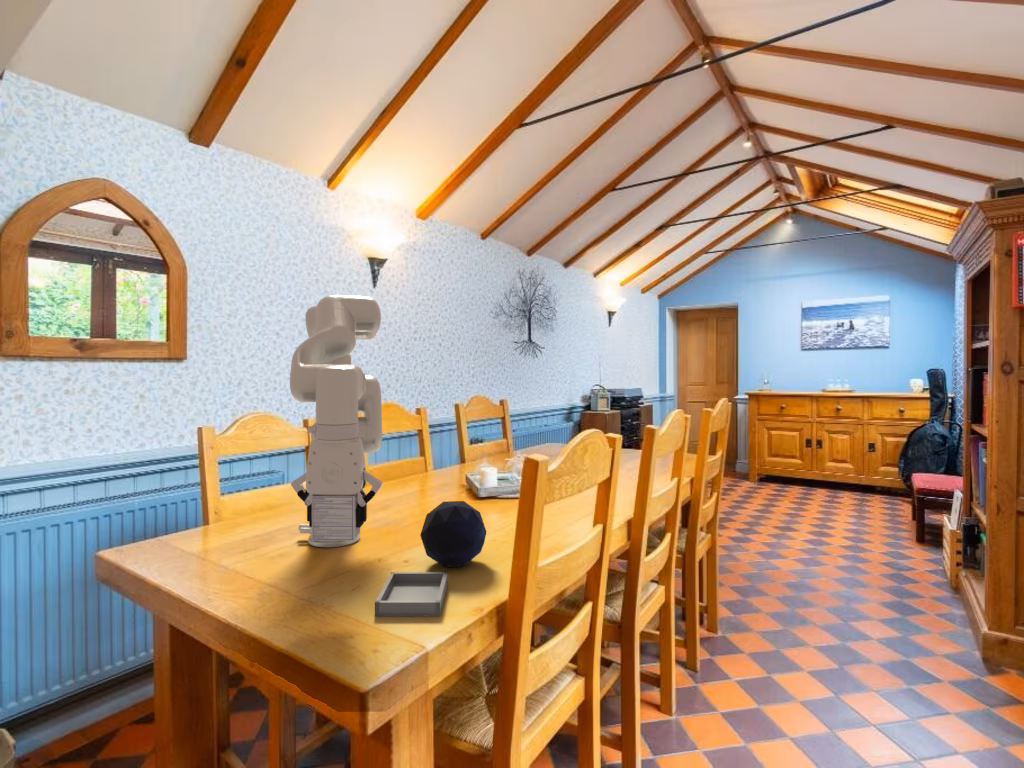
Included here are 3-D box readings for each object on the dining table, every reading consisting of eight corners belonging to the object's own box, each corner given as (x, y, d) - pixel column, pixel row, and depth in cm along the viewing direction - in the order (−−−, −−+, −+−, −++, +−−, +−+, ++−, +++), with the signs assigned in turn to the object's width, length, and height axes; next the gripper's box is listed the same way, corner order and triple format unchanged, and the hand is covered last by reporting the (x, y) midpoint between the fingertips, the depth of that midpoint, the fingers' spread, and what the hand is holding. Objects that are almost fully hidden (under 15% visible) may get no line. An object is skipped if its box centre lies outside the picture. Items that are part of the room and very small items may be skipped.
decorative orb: (469, 525, 136) (439, 482, 130) (509, 539, 125) (478, 493, 118) (431, 570, 129) (396, 527, 122) (469, 589, 118) (434, 543, 111)
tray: (374, 616, 97) (374, 602, 97) (391, 584, 112) (391, 572, 112) (439, 616, 98) (439, 602, 97) (447, 584, 112) (447, 572, 112)
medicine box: (360, 534, 105) (360, 489, 104) (354, 542, 100) (354, 495, 100) (319, 533, 104) (318, 489, 104) (311, 541, 100) (311, 495, 100)
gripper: (281, 434, 98) (282, 531, 99) (379, 436, 98) (379, 532, 99) (297, 429, 105) (297, 518, 106) (388, 430, 106) (387, 519, 106)
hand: (337, 524), depth 103 cm, fingers closed on medicine box, 8 cm apart
